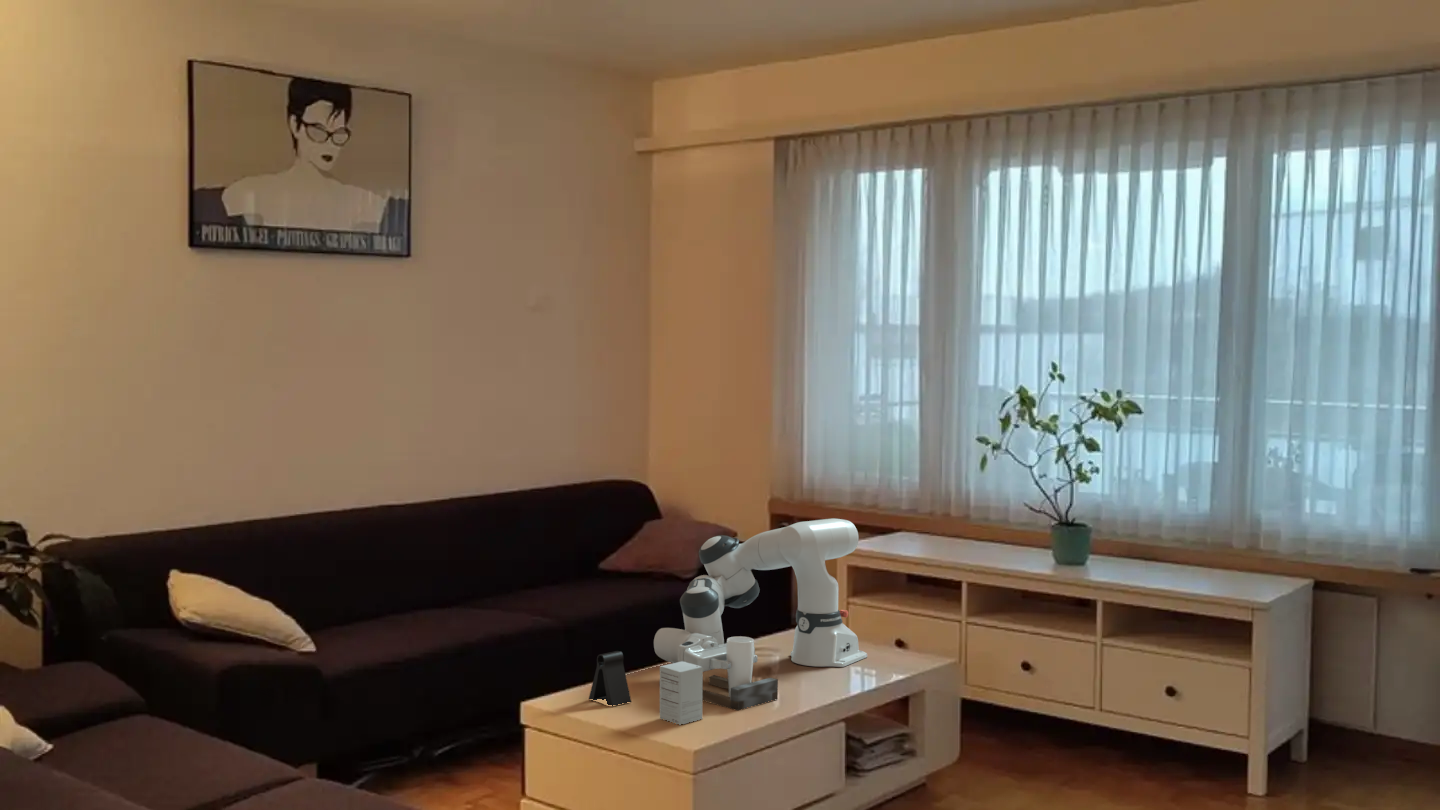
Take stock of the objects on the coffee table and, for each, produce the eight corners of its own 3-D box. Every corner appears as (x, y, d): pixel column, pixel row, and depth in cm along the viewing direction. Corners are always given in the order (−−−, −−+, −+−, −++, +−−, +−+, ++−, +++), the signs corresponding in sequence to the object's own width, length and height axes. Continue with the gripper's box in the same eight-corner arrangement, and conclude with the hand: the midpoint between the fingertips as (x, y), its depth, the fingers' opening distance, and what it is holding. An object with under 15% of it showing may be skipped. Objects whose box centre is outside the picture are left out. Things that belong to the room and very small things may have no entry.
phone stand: (588, 700, 332) (588, 651, 331) (607, 695, 336) (607, 647, 335) (612, 707, 325) (612, 658, 325) (631, 703, 330) (631, 654, 329)
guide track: (714, 682, 349) (714, 663, 349) (777, 699, 334) (777, 679, 333) (674, 692, 339) (674, 672, 339) (737, 710, 324) (738, 689, 324)
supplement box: (682, 713, 321) (682, 660, 321) (703, 719, 316) (703, 666, 315) (658, 719, 316) (658, 665, 316) (679, 726, 311) (679, 671, 310)
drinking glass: (750, 704, 329) (751, 643, 329) (723, 702, 331) (724, 641, 330) (755, 696, 336) (756, 637, 335) (728, 695, 337) (729, 635, 337)
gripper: (731, 658, 349) (771, 667, 340) (673, 671, 335) (713, 682, 325) (731, 633, 349) (771, 643, 339) (673, 646, 334) (713, 656, 325)
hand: (742, 662), depth 332 cm, fingers open, 8 cm apart
